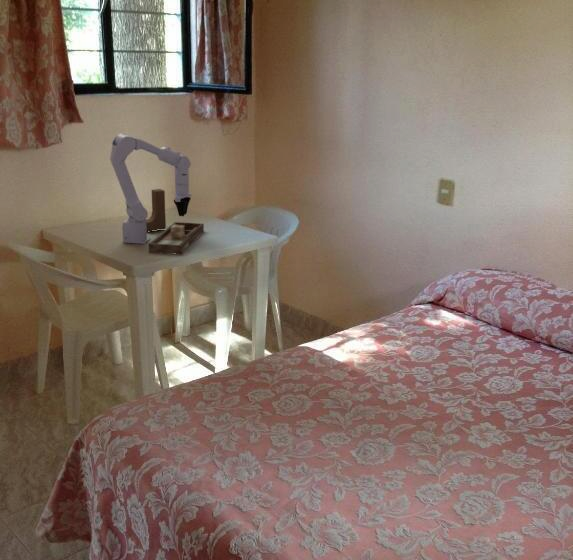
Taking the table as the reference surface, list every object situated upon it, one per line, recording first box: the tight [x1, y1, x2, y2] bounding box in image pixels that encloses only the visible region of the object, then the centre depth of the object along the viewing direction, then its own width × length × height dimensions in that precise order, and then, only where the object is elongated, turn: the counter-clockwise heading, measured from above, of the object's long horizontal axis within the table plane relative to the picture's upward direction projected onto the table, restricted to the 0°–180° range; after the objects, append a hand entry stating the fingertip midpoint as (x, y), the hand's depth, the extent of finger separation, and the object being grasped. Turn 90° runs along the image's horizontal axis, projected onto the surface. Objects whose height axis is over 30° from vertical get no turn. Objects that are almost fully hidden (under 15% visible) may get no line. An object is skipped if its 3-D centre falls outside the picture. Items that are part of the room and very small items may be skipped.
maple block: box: [171, 225, 185, 238], centre depth 277 cm, size 4×4×4 cm
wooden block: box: [146, 188, 167, 233], centre depth 291 cm, size 9×4×18 cm, turn 125°
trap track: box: [148, 221, 205, 255], centre depth 278 cm, size 13×37×4 cm, turn 173°
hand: (182, 215), depth 283 cm, fingers open, 3 cm apart
